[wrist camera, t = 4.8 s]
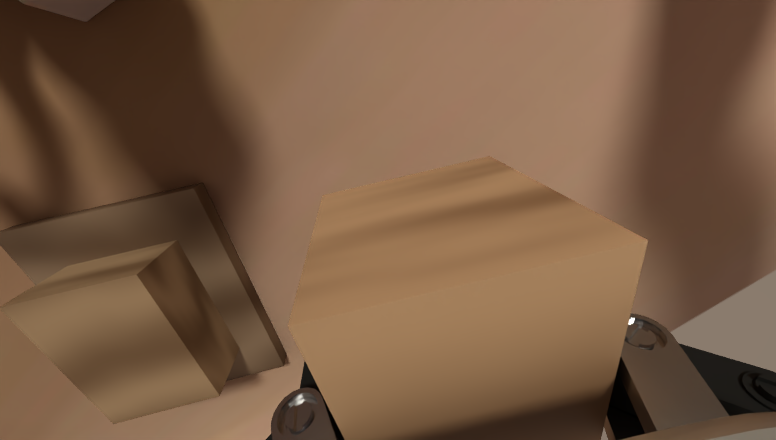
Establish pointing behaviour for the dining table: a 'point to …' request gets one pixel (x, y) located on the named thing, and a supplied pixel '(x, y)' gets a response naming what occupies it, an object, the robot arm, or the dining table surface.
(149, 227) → the pedestal board
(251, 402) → the dining table surface
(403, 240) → the tan block
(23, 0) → the toy
